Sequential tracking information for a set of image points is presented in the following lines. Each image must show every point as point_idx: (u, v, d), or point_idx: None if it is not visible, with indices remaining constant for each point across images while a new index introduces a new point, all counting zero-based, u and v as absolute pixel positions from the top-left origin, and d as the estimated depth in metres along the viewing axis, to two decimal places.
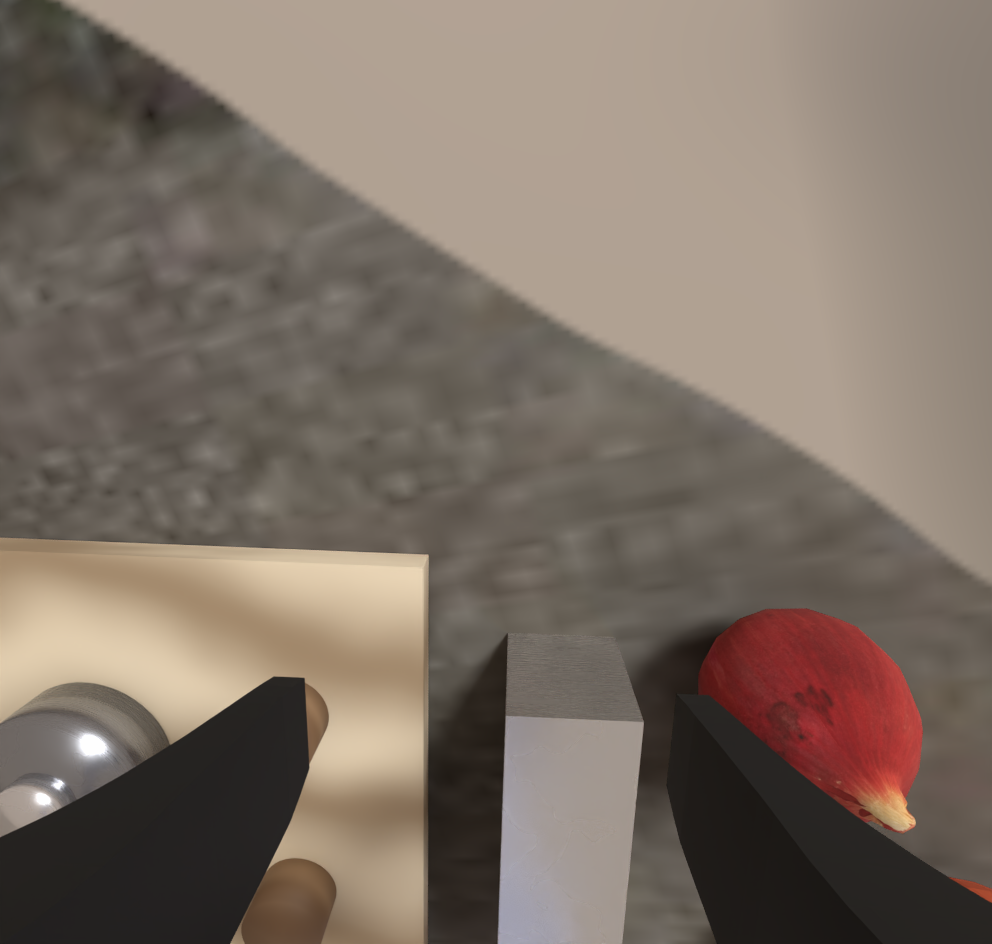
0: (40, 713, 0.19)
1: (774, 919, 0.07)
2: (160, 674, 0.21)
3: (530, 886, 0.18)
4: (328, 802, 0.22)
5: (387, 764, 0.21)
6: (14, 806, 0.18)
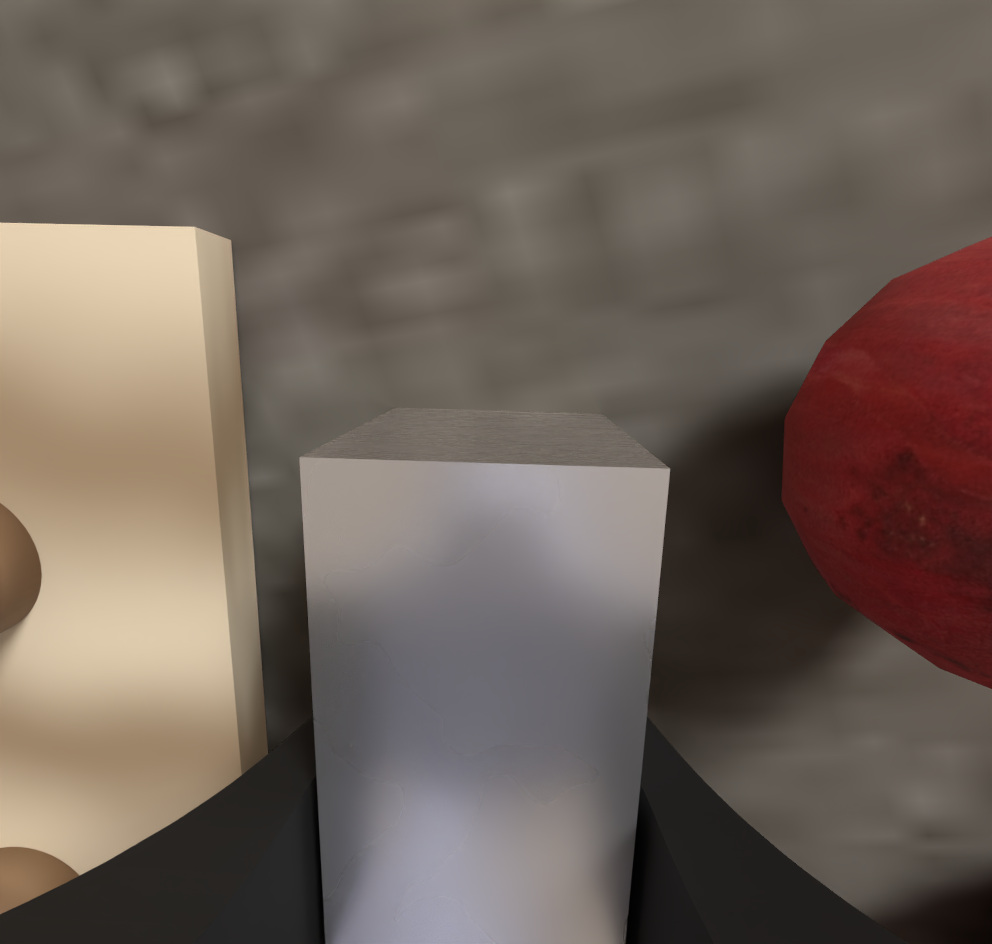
0: None
1: (649, 912, 0.07)
2: None
3: (395, 913, 0.07)
4: (61, 739, 0.11)
5: (163, 663, 0.11)
6: None
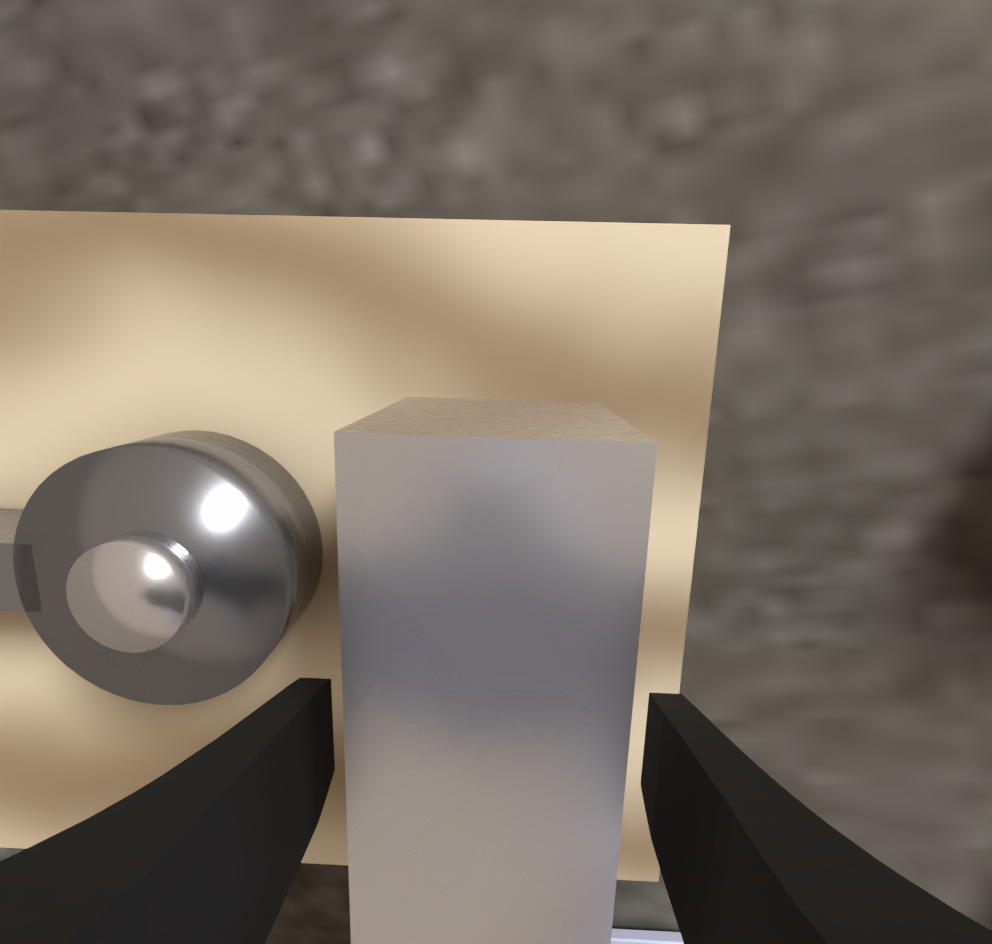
0: (146, 442, 0.12)
1: (732, 917, 0.07)
2: (311, 417, 0.14)
3: (411, 843, 0.08)
4: None
5: None
6: (112, 570, 0.11)
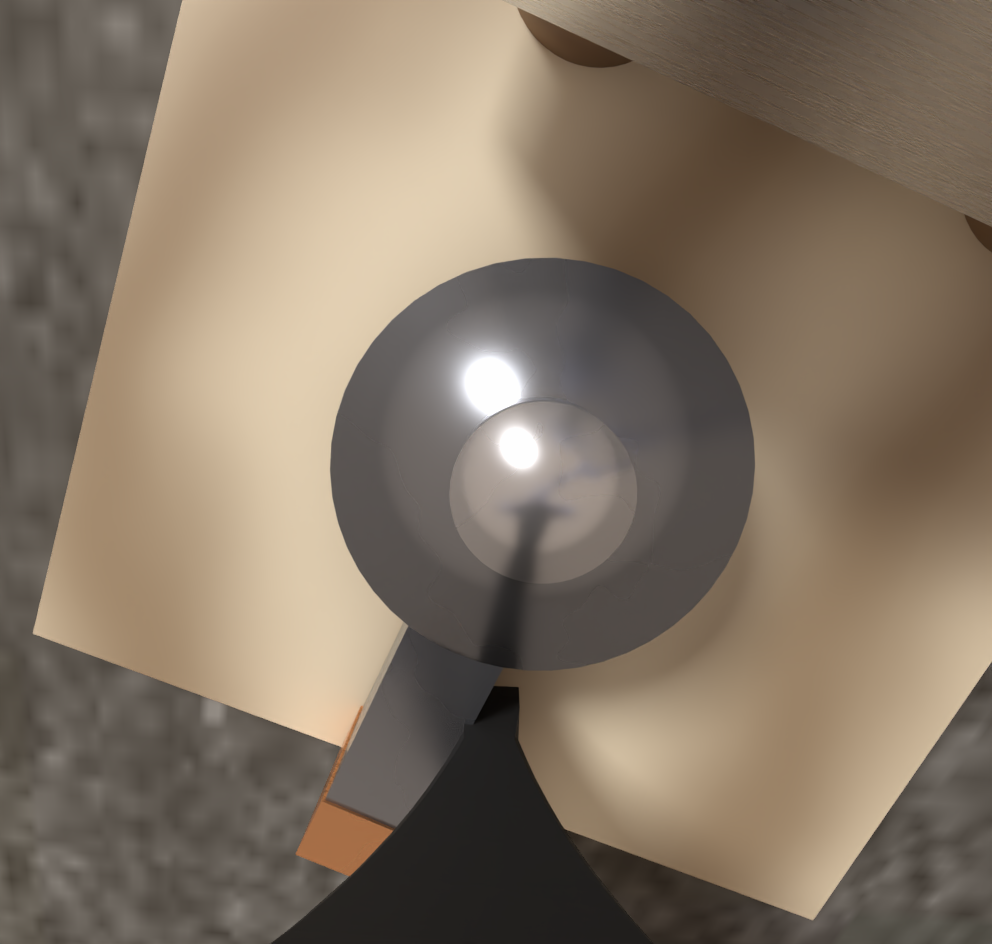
0: None
1: None
2: (415, 223, 0.10)
3: None
4: None
5: None
6: (493, 487, 0.07)
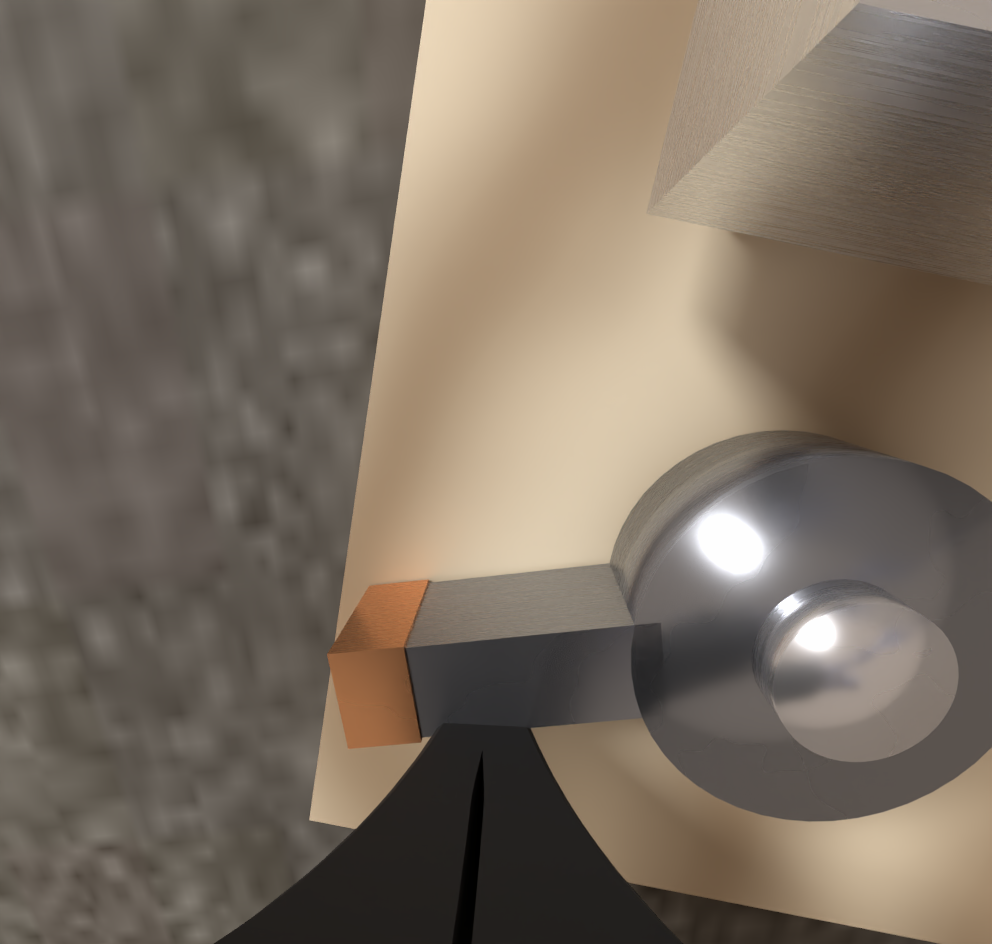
0: (802, 451, 0.08)
1: None
2: (626, 404, 0.10)
3: None
4: None
5: None
6: (853, 646, 0.07)
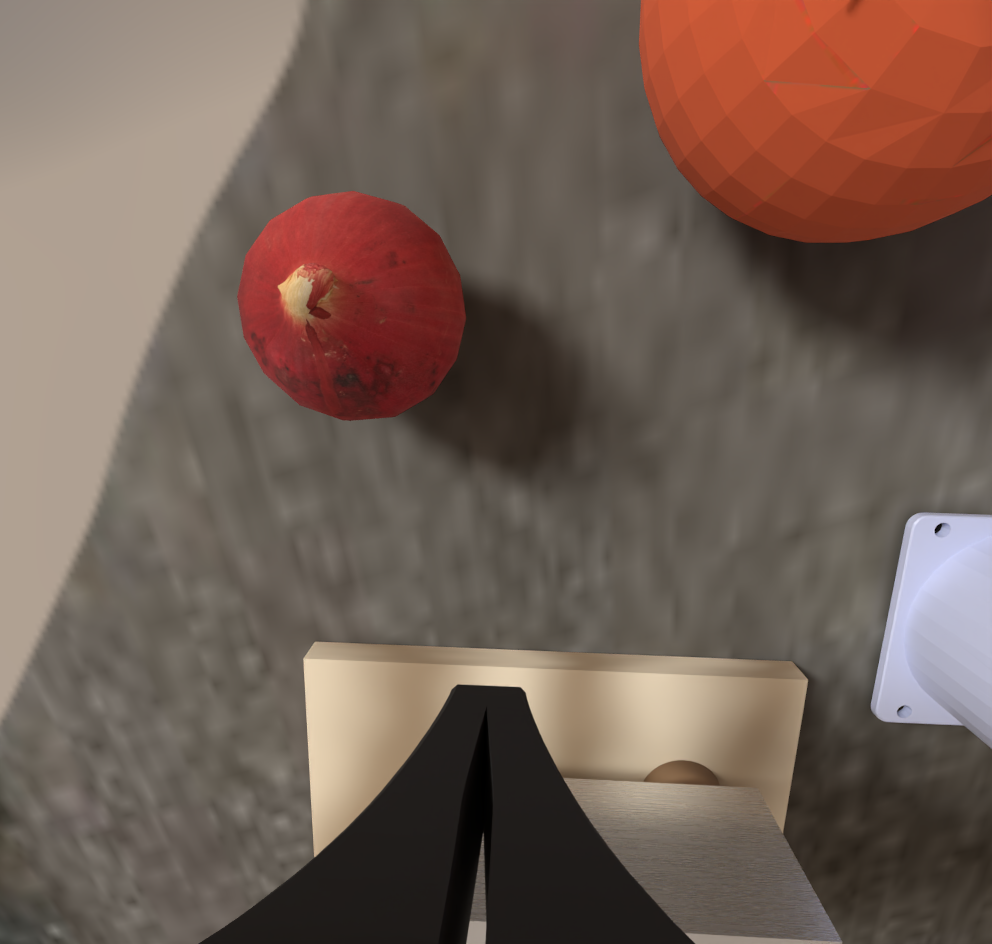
0: None
1: None
2: None
3: None
4: (569, 758, 0.21)
5: None
6: None
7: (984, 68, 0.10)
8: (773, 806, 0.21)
